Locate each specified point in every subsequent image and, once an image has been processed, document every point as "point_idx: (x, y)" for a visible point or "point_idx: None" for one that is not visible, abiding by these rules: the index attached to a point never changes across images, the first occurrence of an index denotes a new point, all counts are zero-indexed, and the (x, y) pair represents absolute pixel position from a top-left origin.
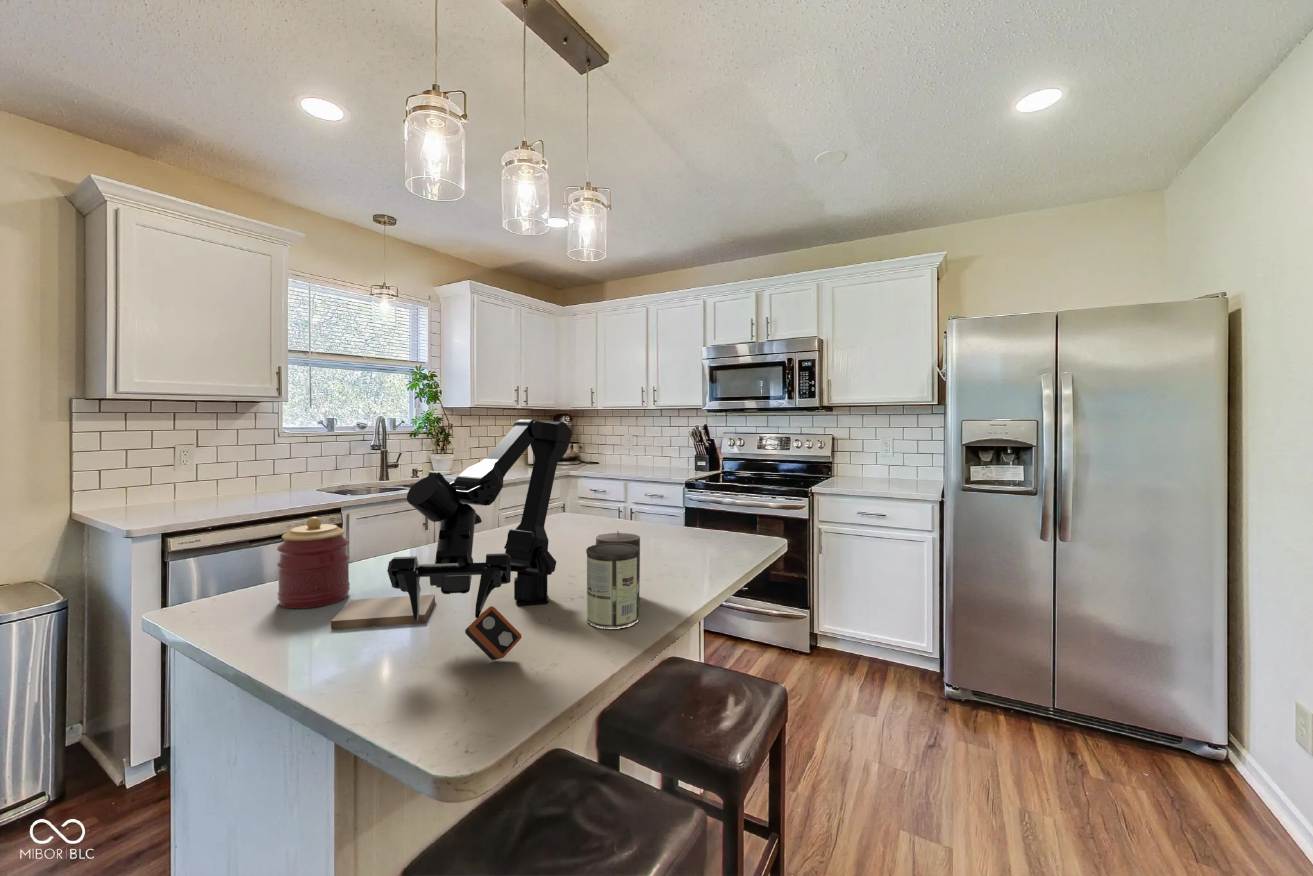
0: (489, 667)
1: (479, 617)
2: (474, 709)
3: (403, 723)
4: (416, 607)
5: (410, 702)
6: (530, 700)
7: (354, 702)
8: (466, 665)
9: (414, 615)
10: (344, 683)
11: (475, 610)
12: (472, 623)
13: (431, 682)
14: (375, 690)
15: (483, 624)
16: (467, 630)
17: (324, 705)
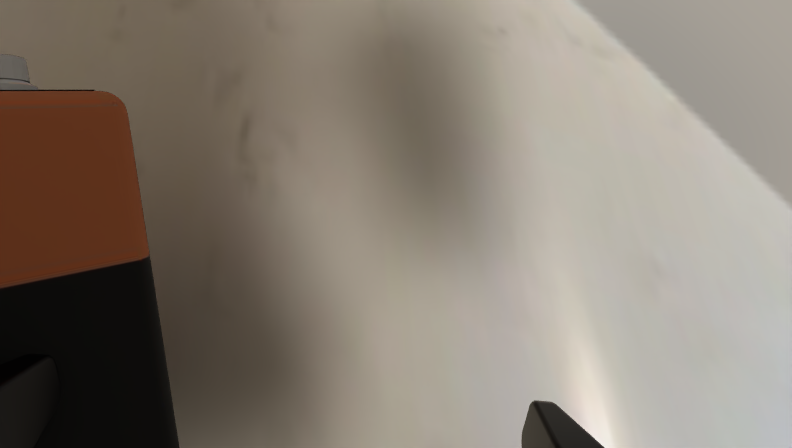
0: None
1: (28, 103)
2: (227, 19)
3: (451, 9)
4: (568, 445)
5: (448, 131)
6: (26, 15)
7: (650, 193)
8: (227, 404)
9: (559, 410)
10: (749, 376)
11: (26, 369)
12: (105, 227)
13: (384, 270)
14: (599, 268)
15: (30, 84)
16: (161, 334)
17: (750, 204)
